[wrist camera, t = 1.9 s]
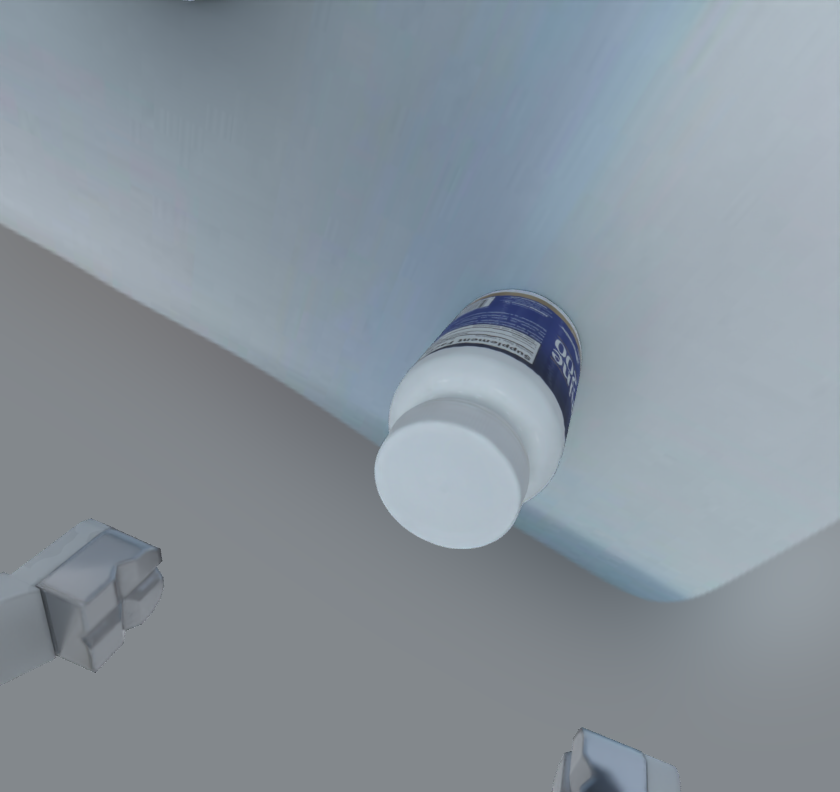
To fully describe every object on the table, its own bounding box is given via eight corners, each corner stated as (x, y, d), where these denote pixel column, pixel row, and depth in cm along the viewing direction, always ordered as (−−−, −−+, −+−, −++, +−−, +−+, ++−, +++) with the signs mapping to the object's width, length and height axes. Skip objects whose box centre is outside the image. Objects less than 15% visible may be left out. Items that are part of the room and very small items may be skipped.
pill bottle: (571, 422, 23) (534, 594, 15) (446, 397, 25) (351, 542, 17) (595, 295, 21) (567, 420, 13) (455, 276, 22) (347, 377, 14)
